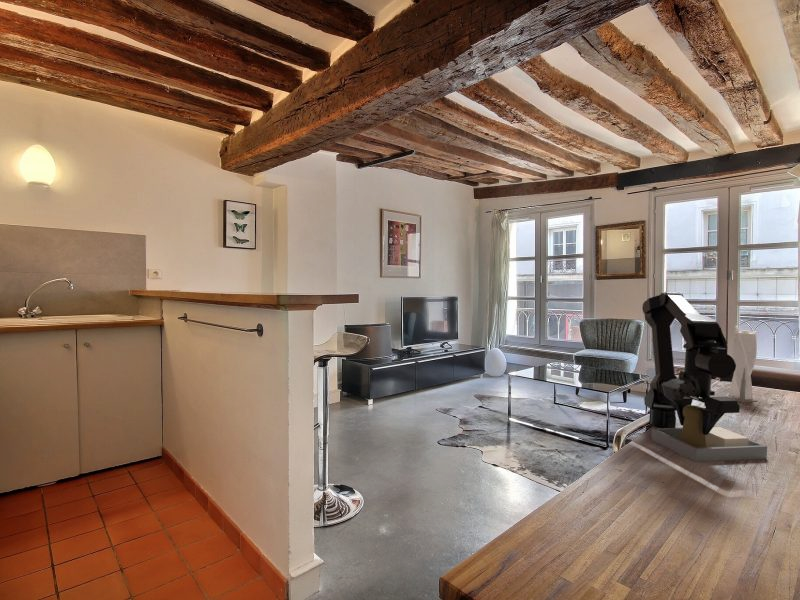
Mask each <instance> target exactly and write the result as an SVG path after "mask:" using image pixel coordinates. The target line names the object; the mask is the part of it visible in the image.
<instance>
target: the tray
mask: <svg viewBox="0 0 800 600" xmlns="http://www.w3.org/2000/svg"><path fill="white" fill-rule="evenodd" d="M682 428H683V427H675V428H658V427H655V428H654V427H653V428H651V435H650V437H651V438H650V441H653V442H655V443H657V444H659V445H661V446H663V447H664V448H666V449H669V450H670V451H673V452H675V453H677V454H679V455H681V456H682V457H685V458H686V459H689V460H690V461H693V462H694V463H704V462H706V463H707V462H709V463H710V462H726V461H727V462H729V461H745V460H746V461H747V460H766V459H767V456H768V455H767V454H768V445H764V444H762V443H760V442H757V441H754V440H752V439H749V441H748V446H732V447H709V448H707V447H706V448H695V447H693V446H691V445H689V444H687V443H685V442H683V441H680V436H681V432H682Z"/></svg>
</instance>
